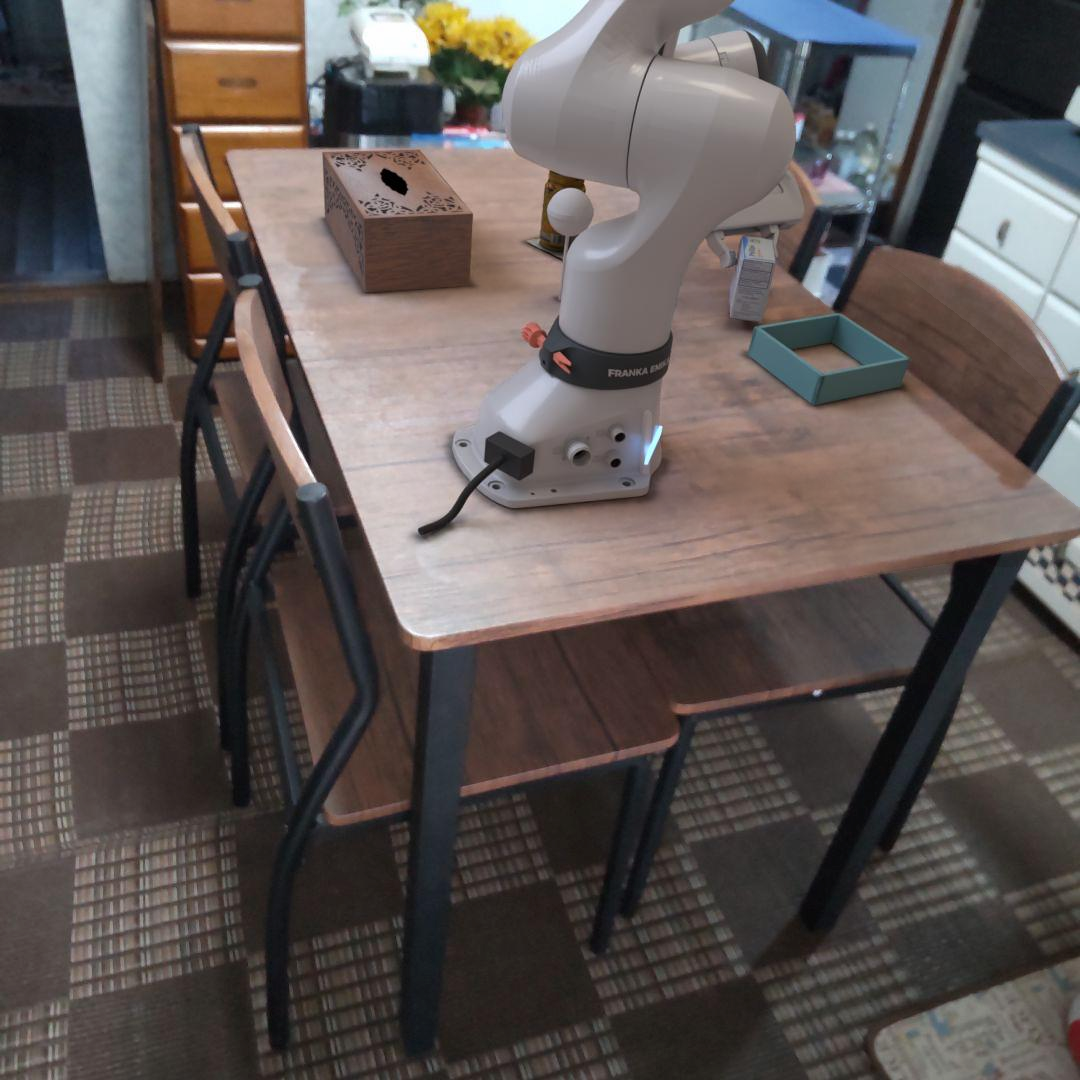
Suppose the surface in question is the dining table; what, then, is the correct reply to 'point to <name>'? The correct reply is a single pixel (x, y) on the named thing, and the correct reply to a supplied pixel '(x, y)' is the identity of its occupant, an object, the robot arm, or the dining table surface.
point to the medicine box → (752, 279)
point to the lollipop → (569, 217)
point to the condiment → (548, 235)
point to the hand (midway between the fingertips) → (751, 263)
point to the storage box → (816, 387)
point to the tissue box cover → (397, 220)
